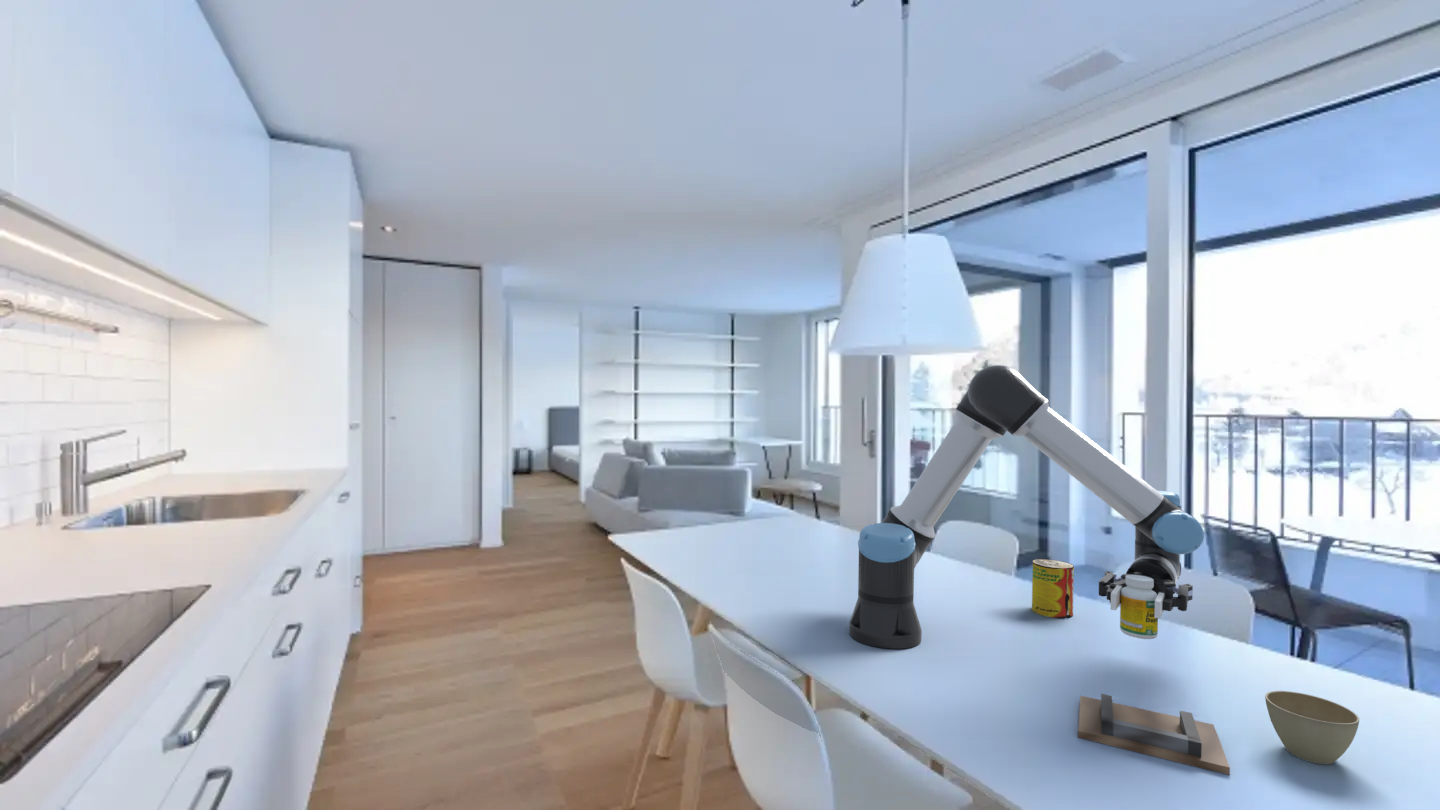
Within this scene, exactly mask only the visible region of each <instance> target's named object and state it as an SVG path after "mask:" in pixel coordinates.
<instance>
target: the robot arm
mask: <svg viewBox="0 0 1440 810" xmlns="http://www.w3.org/2000/svg"><path fill="white" fill-rule="evenodd" d="M954 411H955V416H956V420H955V422H954V423H953V425H952V427H951V428H950V429H949V431H948V433H947V434H946V436H945V437H944V439H943V441H942V442H941V444H940V445H939V447H938V448H937V449H936V451H935V453H933V455H932V457H931V459H930V460H929V462H928V463H927V464H926V466H925V468H924V469H923V471H922V472H921V474H920V475H919V476H918V479H917V480H916V481H915V483H914V485H913V486H912V488H911V489H910V490H909V491H908V493H907V495H906V497H905V498H904V499H903V501H902V503H901V504H900V505H896V506H891V508H890V509H889V510H888V512H887V514H886V515H885V517H884V518H883V520H882V522H878V523H874V524H868V525H866V526H864V527H863V528H862V529H861V530H860V533H859V536H858V537H859V539H858V542H857V544H858V578H857V579H858V580H857V581H858V583H857V585H858V586H857V589H858V591H857V600H856V603H855V606H854V609H853V610H852V614H851V617H850V620H849V623H848V624H849V625H848V626H849V627H848V628H849V630H848V631H849V632H848V633H849V635H850V637H852V638H853V639H854V640H856V641H857V642H860V643H862V644H865V645H867V646H871V647H877V648H883V649H892V650H893V649H895V650H896V649H897V650H898V649H899V650H900V649H909V648H913V647H917V646H918V645H920V643H921V642H922V634H923V633H922V627H921V623H920V620H919V616H918V613H917V611H916V607H915V603H914V602H915V601H914V597H915V596H914V593H915V589H914V587H915V586H914V585H915V569H916V567H917V564H919V562H920V560H921V559H922V557H923V555H924V553H926V551H927V550H928V548H929V546H930V545H931V543H932V542H933V540H934V538H936V533H935V529H934V526H935V525H936V523H937V522H938V520H940V519H939V518H940V517H941V516H942V514H943V513H944V512H945V510H946V508H947V507H948V506H949V504H950V503H951V501H952V500H953V498H954V497H955V495H956V494H957V492H958V491H959V489H960V488H961V486H962V485H963V483H964V482H965V480H966V479H967V477H968V476H969V475H970V473H971V472H972V470H973V468H974V467H975V465H976V464H977V462H978V461H980V458H981V456H982V455H983V453H984V452H985V451H986V450H987V448H988V446H989V445H990V443H991V442H992V441H993V440H995V439H1001V438H1003V437H1004V435H1005V434H1006V432H1008V433H1009V434H1010V435H1012V436H1013V437H1014V436H1018V437H1019V436H1020V437H1023V438H1024V439H1025V440H1026V441H1028V443H1030V444H1031V445H1032V446H1034V447H1035V448H1036V449H1037V450H1039V452H1042V453H1043V454H1044V455H1045V456H1046V457H1047V458H1049V459H1050V460H1051V461H1052V462H1054V463H1055V464H1056V465H1058V466H1059V467H1060V468H1062V469H1063V470H1064V471H1065V472H1067V473H1068V474H1069V475H1070V476H1072V477H1073V478H1074V479H1075V480H1076V481H1078V482H1079V483H1080V484H1082V485H1083V486H1084V487H1085V488H1087V489H1088V490H1089V491H1090V492H1092V493H1093V494H1094V495H1095V496H1097V497H1098V498H1099V499H1100V500H1102V501H1103V502H1104V503H1105V504H1107V505H1108V506H1109V507H1111V508H1112V509H1113V510H1114V511H1116V512H1117V513H1118V514H1119V515H1121V516H1122V517H1123V518H1124V519H1125V520H1127V521H1128V522H1129V523H1131V524H1132V525H1133V527H1134V531H1135V532H1134V536H1135V537H1134V561H1133V562H1132V563H1131V564H1130V566H1129V568H1128V569H1127V571H1126V573H1123V574H1121V575H1120V576H1117V573H1113V572H1112V571H1110V570H1106V571H1104V575H1103V577H1102V578H1101V579H1099V581H1098V596H1100V597H1106V600H1107V601H1109V603H1110V610H1111V611H1117V610H1118V608H1119V606H1120V598H1121V597H1120V595H1121V590H1122V588H1124V587H1127V585H1126V583H1125V576H1126V575H1141V576H1146V577H1150V578H1152V579H1153V580H1154V587H1153V588H1152V590H1153V591H1154V592H1156V594H1157V597H1156V599H1155V617H1154V618H1158V620H1159V619H1161V618H1162V616H1163V613H1164V611H1167V612H1171V611H1172V610H1173V609H1174V608H1177V610H1178V611H1180V612H1181V611H1182V612H1187V610H1188V602H1189V601H1192V600H1193V594H1194V593H1193V590H1194V589H1193V587H1194V586H1193V585H1191V584H1190V583H1186V584H1185V583H1184V584H1180V583H1179V584H1178V586H1177V581H1178V580H1179V578H1180V576H1181V575H1182V563H1181V561H1180V559H1181V558H1180V557H1181V556H1180V555H1188V554H1191V553H1194V552H1195V551H1197V550H1199V548H1200V547H1201V545H1202V544H1203V543H1204V538H1205V532H1204V529H1203V526H1202V525H1201V523H1200V522H1199V521H1198V519H1196V518H1195V517H1194V516H1193V515H1191V514H1190V513H1187V512H1185V511H1184V510H1182V505H1181V497H1180V495H1179V494H1177V493H1176V492H1172V491H1165V490H1157V489H1156V488H1154V487H1153V486H1152V485H1150V484H1149V483H1148V482H1147V481H1145V480H1144V479H1143V478H1142V477H1140V476H1138V475H1137V474H1136V473H1135V472H1134V471H1132V470H1131V469H1130V468H1128V467H1127V466H1126V465H1124V464H1123V463H1122V462H1120V461H1119V460H1118V458H1115V457H1114V456H1113V455H1112V454H1111V453H1109V452H1108V451H1106V450H1105V449H1104V448H1103V447H1101V446H1100V445H1099V444H1098V443H1096V442H1095V441H1093V440H1092V439H1091V438H1090V437H1088V436H1087V435H1086V434H1085V433H1083V432H1082V431H1080V430H1079V429H1078V428H1077V427H1075V426H1074V425H1072V423H1070V422H1069V421H1068V420H1066V419H1065V418H1063V416H1062V415H1060V414H1058V413H1057V412H1056V411H1055V410H1053V408H1050V404H1049V399H1048V398H1046V397H1045V396H1044V395H1042V394H1041V393H1040V392H1039V391H1038V390H1037V389H1035V387H1034V386H1033V385H1031V384H1030V383H1029V381H1028V380H1027V379H1026V378H1024V376H1023V375H1022V374H1021V373H1020V372H1018V371H1017V370H1016V369H1014V368H1012V367H1009V366H1007V365H1001V364H1000V365H991V366H987V367H984V368H983V369H981V370H980V371H978V372H977V373H975V375H974V376H973V377H972V379H971V381H970V383H969V385H968V389H967V390H966V392H965V394H964V395H963V396H962V398H961V400H960V401H959V403H958V405H957V406H956V408H955V409H954ZM1175 594H1176V595H1177V596H1174V595H1175Z"/></svg>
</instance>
